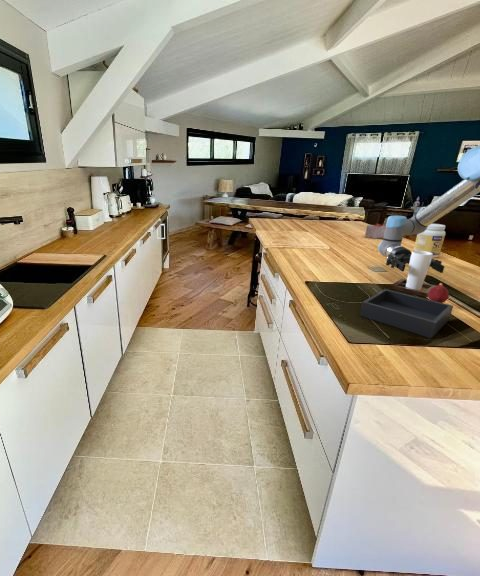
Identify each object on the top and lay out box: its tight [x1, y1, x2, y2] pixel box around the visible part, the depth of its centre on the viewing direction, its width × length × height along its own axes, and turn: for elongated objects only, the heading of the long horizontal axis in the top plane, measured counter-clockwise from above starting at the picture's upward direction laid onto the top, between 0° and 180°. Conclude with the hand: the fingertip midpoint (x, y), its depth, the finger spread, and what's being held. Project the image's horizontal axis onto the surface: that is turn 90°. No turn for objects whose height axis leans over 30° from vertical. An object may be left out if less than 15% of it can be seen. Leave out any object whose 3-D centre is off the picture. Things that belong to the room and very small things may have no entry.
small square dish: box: [389, 277, 437, 298], centre depth 126 cm, size 12×12×2 cm
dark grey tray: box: [359, 288, 454, 339], centre depth 101 cm, size 20×18×5 cm
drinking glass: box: [405, 250, 433, 291], centre depth 123 cm, size 7×7×15 cm
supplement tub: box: [412, 223, 446, 259], centre depth 170 cm, size 12×12×17 cm
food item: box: [364, 223, 386, 240], centre depth 216 cm, size 14×8×10 cm, turn 59°
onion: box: [427, 282, 450, 303], centre depth 110 cm, size 6×6×8 cm
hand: (423, 268), depth 120 cm, fingers open, 13 cm apart
